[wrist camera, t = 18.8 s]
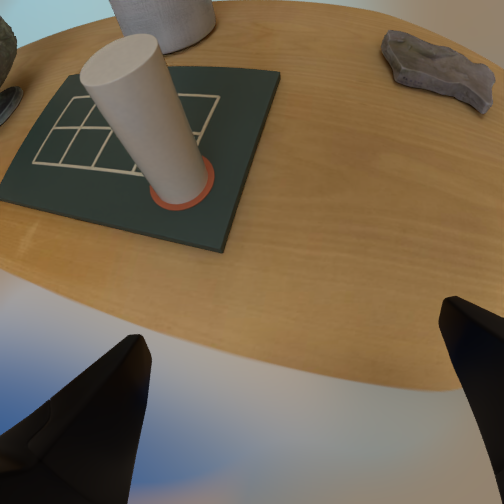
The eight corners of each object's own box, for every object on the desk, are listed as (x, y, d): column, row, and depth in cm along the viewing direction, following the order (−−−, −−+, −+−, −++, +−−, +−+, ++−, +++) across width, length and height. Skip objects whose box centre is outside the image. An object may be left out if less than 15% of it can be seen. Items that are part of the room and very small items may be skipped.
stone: (480, 77, 29) (491, 56, 25) (492, 124, 26) (506, 102, 22) (381, 40, 32) (385, 16, 28) (376, 80, 29) (383, 52, 25)
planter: (223, 10, 37) (211, -51, 26) (208, 53, 33) (188, -23, 22) (146, 21, 38) (126, -32, 28) (118, 66, 34) (87, 4, 24)
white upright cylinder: (219, 179, 25) (173, 45, 13) (174, 215, 24) (94, 97, 12) (187, 148, 26) (135, 26, 14) (145, 181, 26) (70, 70, 14)
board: (222, 253, 24) (220, 248, 23) (-2, 200, 29) (-7, 196, 28) (280, 78, 30) (280, 70, 29) (72, 79, 35) (68, 74, 34)
